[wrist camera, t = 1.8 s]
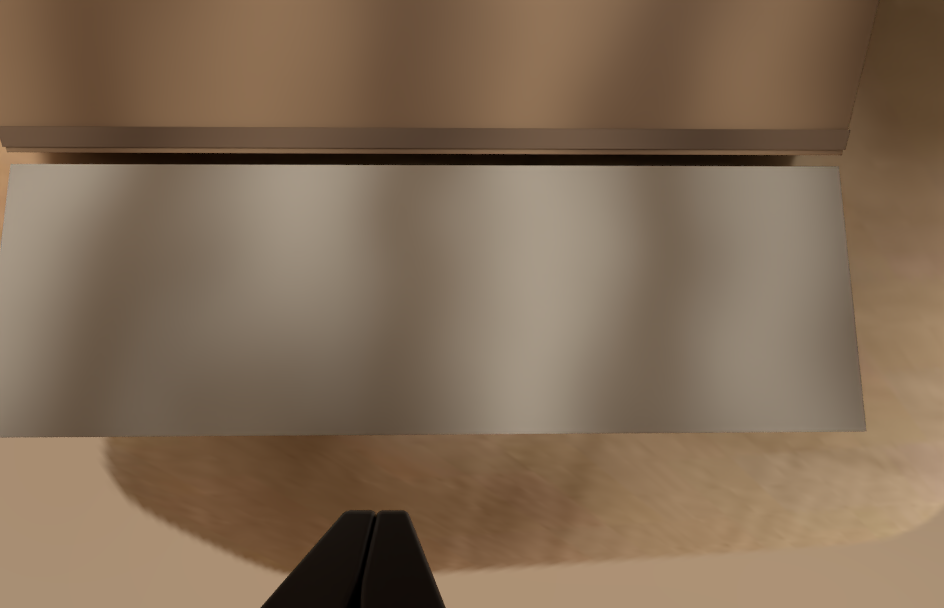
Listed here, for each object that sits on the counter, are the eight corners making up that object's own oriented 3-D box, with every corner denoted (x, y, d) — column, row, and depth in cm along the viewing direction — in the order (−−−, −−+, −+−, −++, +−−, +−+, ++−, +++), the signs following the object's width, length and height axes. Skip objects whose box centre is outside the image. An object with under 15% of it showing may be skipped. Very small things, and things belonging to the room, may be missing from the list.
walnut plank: (860, -137, 14) (923, -171, 12) (799, 146, 17) (844, 155, 15) (-18, -150, 14) (-96, -188, 12) (58, 144, 16) (4, 152, 14)
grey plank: (795, 192, 17) (839, 166, 15) (816, 425, 16) (866, 431, 14) (64, 190, 17) (10, 163, 15) (39, 430, 16) (-22, 437, 14)
